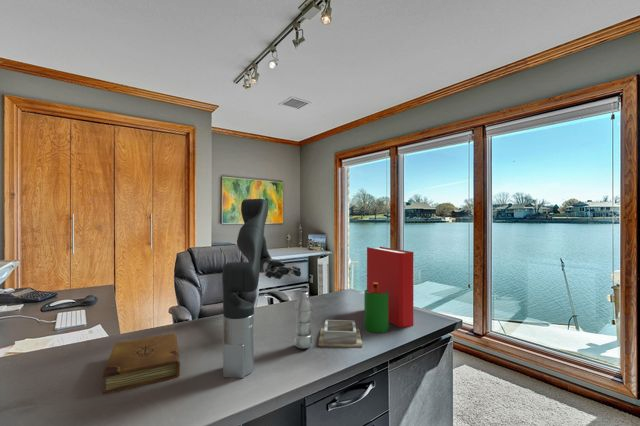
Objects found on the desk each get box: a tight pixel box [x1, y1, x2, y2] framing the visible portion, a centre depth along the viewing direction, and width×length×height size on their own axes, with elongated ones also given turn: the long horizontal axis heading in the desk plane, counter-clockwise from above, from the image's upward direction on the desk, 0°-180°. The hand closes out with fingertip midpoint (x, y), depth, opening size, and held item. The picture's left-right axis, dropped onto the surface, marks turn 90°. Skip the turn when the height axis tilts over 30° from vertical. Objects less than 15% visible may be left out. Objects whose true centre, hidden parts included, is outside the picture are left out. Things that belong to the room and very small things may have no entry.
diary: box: [102, 333, 181, 395], centre depth 96 cm, size 23×19×6 cm
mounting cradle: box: [318, 319, 363, 348], centre depth 119 cm, size 16×16×5 cm
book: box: [366, 246, 414, 328], centre depth 144 cm, size 27×8×32 cm, turn 23°
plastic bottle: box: [293, 290, 313, 350], centre depth 111 cm, size 6×7×20 cm
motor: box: [363, 282, 390, 334], centre depth 129 cm, size 10×9×20 cm
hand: (290, 275), depth 120 cm, fingers open, 8 cm apart
